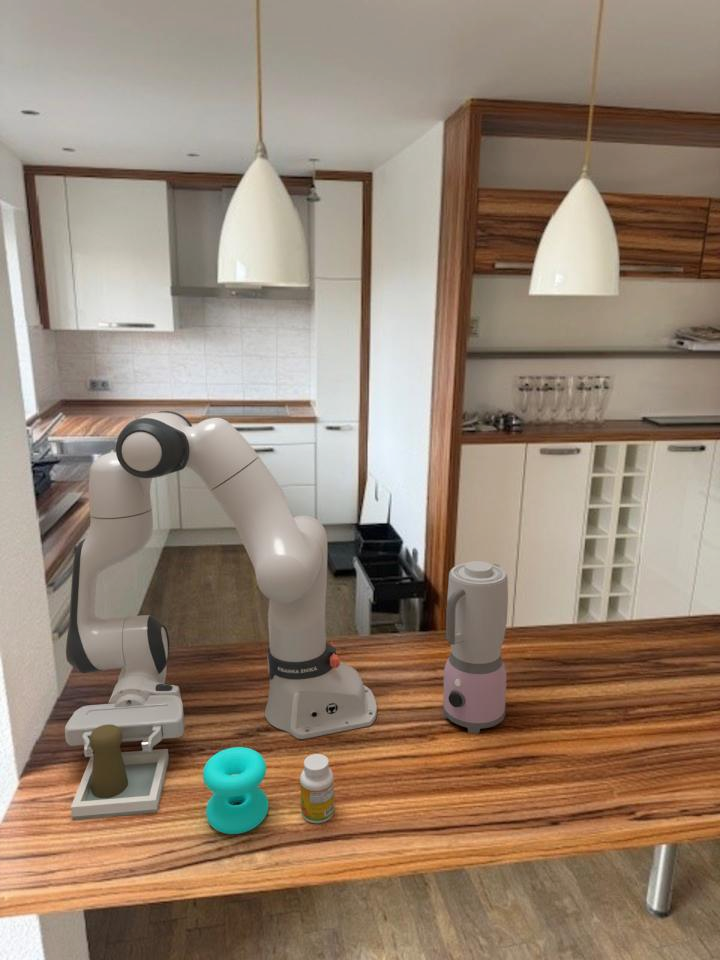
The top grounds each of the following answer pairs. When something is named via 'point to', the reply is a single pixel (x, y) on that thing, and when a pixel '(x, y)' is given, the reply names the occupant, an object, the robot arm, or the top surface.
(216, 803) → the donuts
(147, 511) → the robot arm
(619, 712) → the top surface
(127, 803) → the picture frame
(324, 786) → the supplement bottle
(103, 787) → the olive brown pawn
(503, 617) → the blender
